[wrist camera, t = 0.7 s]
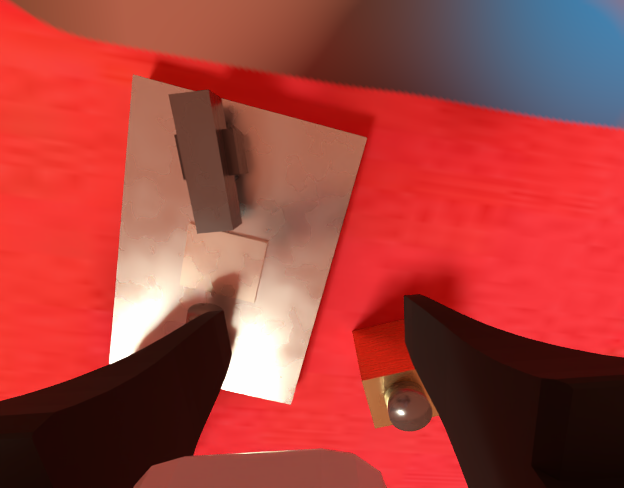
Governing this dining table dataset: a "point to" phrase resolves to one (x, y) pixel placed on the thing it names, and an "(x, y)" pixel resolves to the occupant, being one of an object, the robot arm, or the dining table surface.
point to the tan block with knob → (391, 378)
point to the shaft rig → (228, 228)
